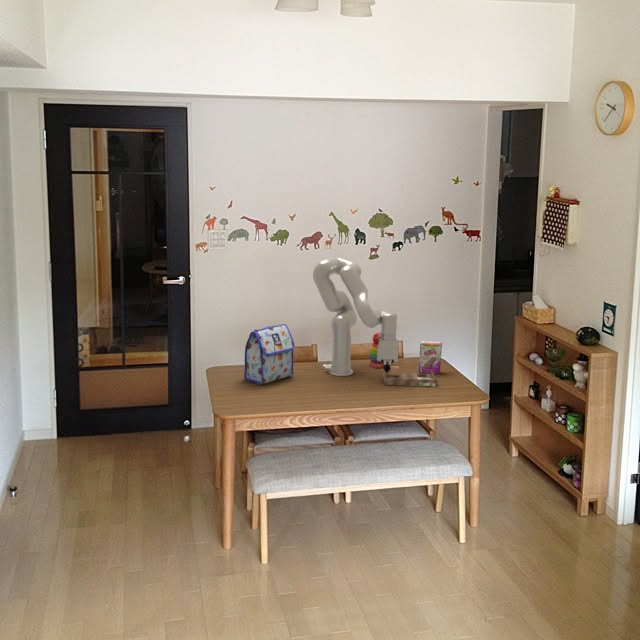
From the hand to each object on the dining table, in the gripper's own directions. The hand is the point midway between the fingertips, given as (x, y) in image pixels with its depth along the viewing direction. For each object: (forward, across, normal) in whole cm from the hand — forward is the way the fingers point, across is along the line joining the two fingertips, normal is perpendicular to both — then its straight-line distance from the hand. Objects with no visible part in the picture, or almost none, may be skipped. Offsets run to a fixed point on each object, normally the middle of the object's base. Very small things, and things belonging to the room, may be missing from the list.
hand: (386, 371), depth 429 cm
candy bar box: (+4, +23, +13) cm, 26 cm away
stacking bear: (+4, -3, +24) cm, 25 cm away
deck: (+4, +11, -4) cm, 12 cm away
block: (+2, +4, 0) cm, 4 cm away
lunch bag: (+4, -59, -5) cm, 59 cm away
